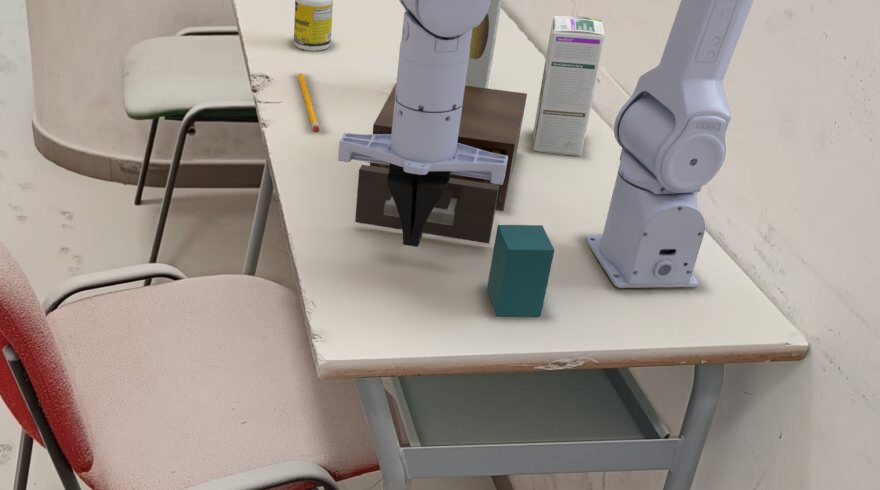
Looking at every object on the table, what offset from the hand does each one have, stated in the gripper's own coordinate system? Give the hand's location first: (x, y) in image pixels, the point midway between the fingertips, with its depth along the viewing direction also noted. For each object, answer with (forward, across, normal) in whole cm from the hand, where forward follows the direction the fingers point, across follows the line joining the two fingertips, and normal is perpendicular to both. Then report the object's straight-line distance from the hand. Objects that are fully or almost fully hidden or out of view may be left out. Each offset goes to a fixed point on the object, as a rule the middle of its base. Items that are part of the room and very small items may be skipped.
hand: (412, 240), depth 93 cm
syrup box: (+4, +12, +35) cm, 37 cm away
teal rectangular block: (+4, +10, -2) cm, 11 cm away
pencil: (+4, -20, +38) cm, 43 cm away
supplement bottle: (+4, -25, +59) cm, 64 cm away
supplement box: (+4, -3, +45) cm, 45 cm away
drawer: (+3, 0, +11) cm, 12 cm away
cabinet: (+4, 0, +23) cm, 23 cm away
